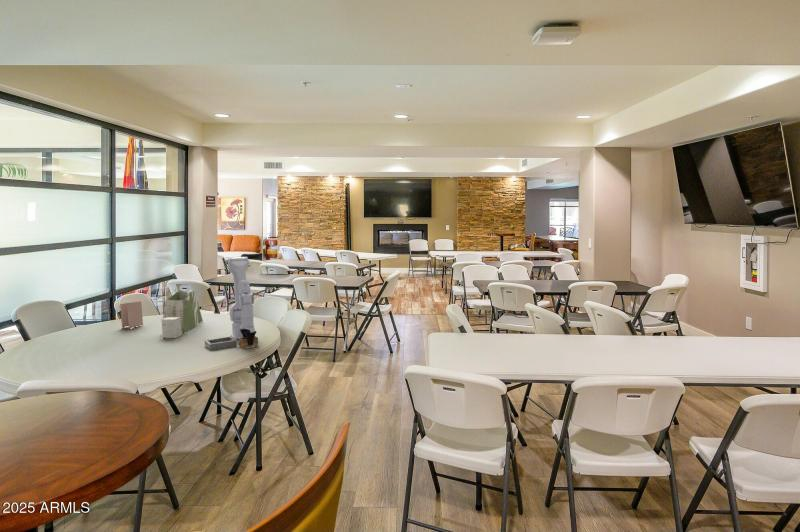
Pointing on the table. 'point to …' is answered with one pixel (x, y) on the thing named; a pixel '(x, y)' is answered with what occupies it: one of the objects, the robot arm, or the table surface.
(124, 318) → the pink upright box
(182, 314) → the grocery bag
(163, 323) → the small box
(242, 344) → the small crate
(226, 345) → the big crate
